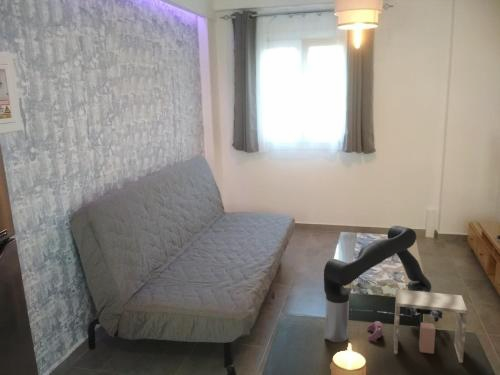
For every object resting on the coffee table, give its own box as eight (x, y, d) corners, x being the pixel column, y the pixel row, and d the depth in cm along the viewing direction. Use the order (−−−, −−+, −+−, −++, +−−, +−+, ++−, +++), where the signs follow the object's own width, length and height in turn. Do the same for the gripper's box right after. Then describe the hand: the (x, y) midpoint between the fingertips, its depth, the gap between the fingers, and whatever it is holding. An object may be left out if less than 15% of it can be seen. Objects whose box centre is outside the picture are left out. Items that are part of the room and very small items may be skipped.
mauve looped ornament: (377, 345, 184) (386, 332, 182) (367, 340, 184) (375, 327, 182) (375, 333, 193) (383, 320, 192) (365, 328, 194) (374, 315, 192)
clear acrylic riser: (394, 353, 175) (396, 303, 171) (393, 336, 188) (396, 289, 183) (462, 363, 169) (467, 310, 164) (457, 344, 181) (461, 295, 177)
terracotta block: (420, 351, 176) (421, 328, 174) (419, 345, 181) (420, 322, 179) (433, 353, 175) (435, 330, 173) (432, 346, 180) (434, 323, 178)
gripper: (405, 292, 204) (407, 308, 189) (439, 295, 200) (444, 312, 185) (404, 307, 206) (406, 325, 190) (438, 311, 202) (443, 329, 186)
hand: (425, 318), depth 188 cm, fingers open, 8 cm apart
